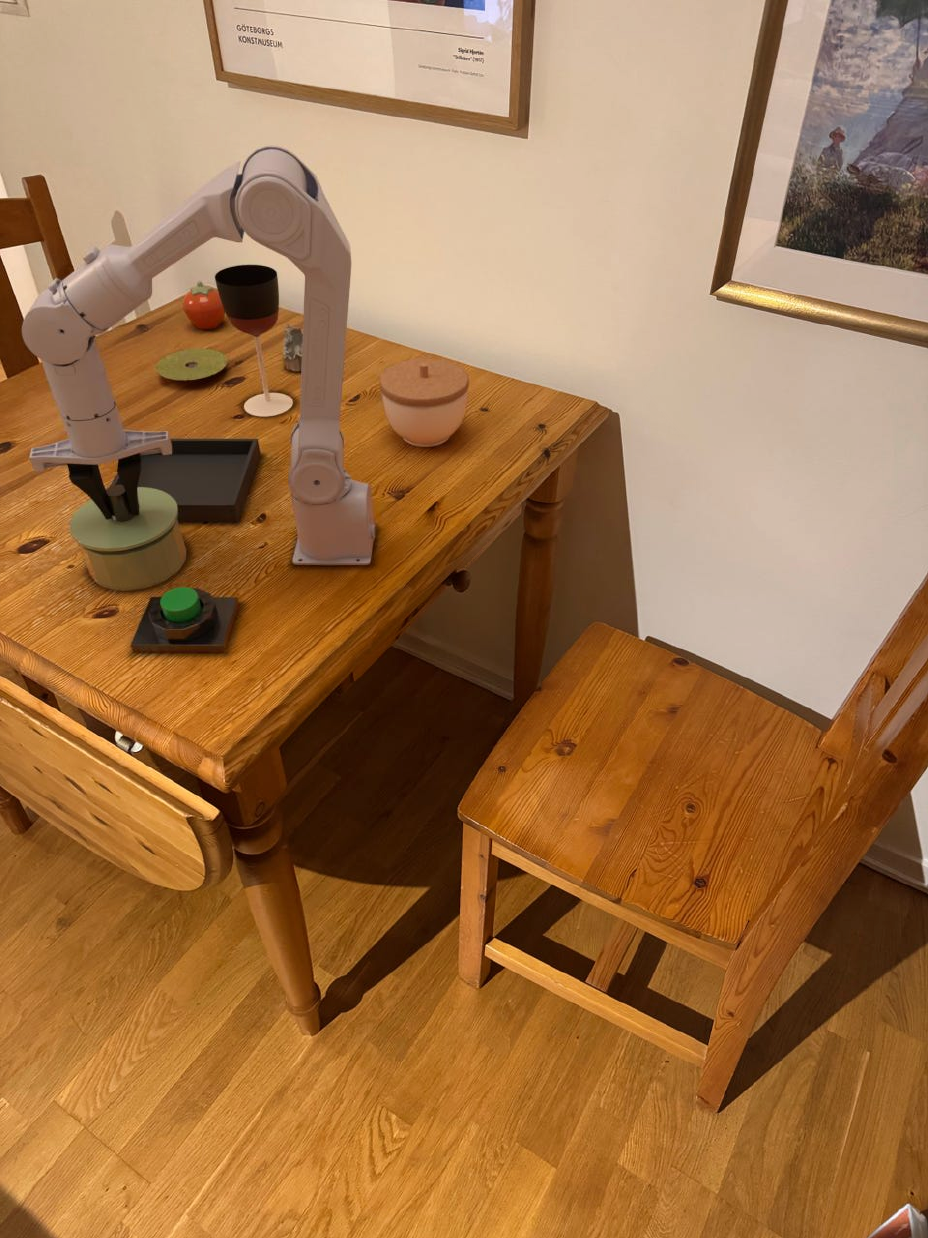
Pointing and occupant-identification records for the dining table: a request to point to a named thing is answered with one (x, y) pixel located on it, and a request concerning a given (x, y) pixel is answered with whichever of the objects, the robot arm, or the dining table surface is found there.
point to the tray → (203, 477)
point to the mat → (191, 364)
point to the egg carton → (293, 348)
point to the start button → (180, 604)
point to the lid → (124, 520)
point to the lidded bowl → (424, 399)
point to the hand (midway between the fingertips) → (123, 512)
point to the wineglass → (253, 321)
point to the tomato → (203, 306)
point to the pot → (137, 562)
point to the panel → (187, 627)
